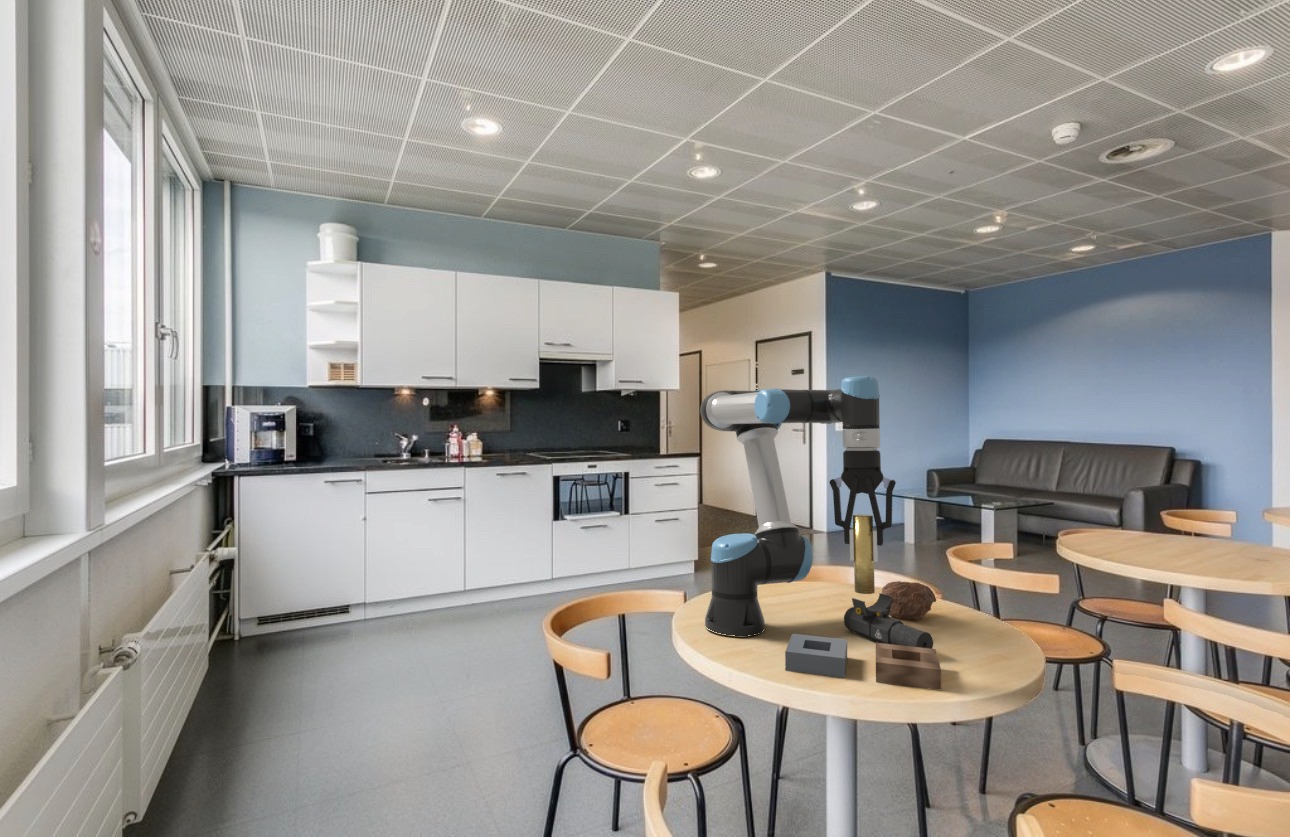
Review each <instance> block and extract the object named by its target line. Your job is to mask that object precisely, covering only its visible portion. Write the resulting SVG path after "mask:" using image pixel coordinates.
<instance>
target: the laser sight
mask: <svg viewBox="0 0 1290 837" xmlns="http://www.w3.org/2000/svg"><path fill="white" fill-rule="evenodd" d="M878 595H879V596H878V599H876V602H875V603H873V604H871V605H869V606H867V605H866V601H864V600H860V599H858V598H856V597H855V598H853V597H852V598H851V601H852V605H853V606H852V607H849V608H848V609H847V610H846V611H845V613H844V615H843V625H844V627H845V629H846V630H848V631H851V632H853V633H854V635H857V636H860V637H862V638H865V639H867V640H870V641H872V642H875V643H883V644H893V645H902V646H911V647H920V648H930V649H934V648H933V647H934V639H933V636H932V634H931V633H930V632H927V631H924V630H921V629H919V628H916V627H912V626H910V625H907V624H904V623H903V622H902V621H901V620H899V619H897V618H893V617H891V616H890V615H889V612H890V609H891V603H892V598H893V597H891V596H888V595H885V594H882V592H881V593H878Z"/></svg>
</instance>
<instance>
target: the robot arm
mask: <svg viewBox="0 0 1290 837" xmlns="http://www.w3.org/2000/svg"><path fill="white" fill-rule="evenodd" d="M840 385H841V386H840V389H839V388H838V389H788V388H787V389H785V388H784V389H782V388H768V389H762V390H758V389H756V390H729V389H726V390H718V391H713V392H711V393H709V394H708V395H706V396H705V398H704V399H703V400H702V402H701V405H700V408H699V409H700V412H699V414H700V416H701V418H702V421H703V422H704V424H705V425H706V426H708V428H709V427H710V428H711V429H713V430H716V431H720V432H735V433H736V434H735V435H736V439H737V442H739V443H740V444H742V445H743V449H744V454H745V458H746V460H745V461H746V466H747V470H748V476H749V481H750V486H751V493H752V497H753V503H754V508H755V512H756V513H755V514H756V519H757V525H758V528H757V530H756V531H755V532H754V534H752V533H746V532H745V533H743V532H742V533H732V534H727V535H722V536H720V537H718V538H716V539H715V540H714V541H713V542H712V545H711V555H710V561H711V599H710V601H709V604H708V607H707V611H706V614H705V617H704V626H706V627H707V628H708V629H710V630H712V631H714V632H717V633H721V634H726V635H735V636H747V637H749V636H748V635H754V634H757V635H759V634H758V633H760V634H762V633H763V632H764V631H765V630H764V629H766V628H765V626H766V625H765V617H764V614H763V611H762V608H761V605H760V602H759V599H758V598H759V597H758V586H760V585H763V586H764V585H770V584H772V585H773V584H782V583H784V584H785V583H786V584H790V583H793V582H799V581H802V580H804V579H806V577H807V576H809V573H810V572H811V569H812V565H813V561H814V560H813V558H814V557H813V555H814V554H813V547H812V545H811V542H810V541H809V539H808V538H807V537H806V536H803V535H800V531H799V527H798V526H797V525H795V524H794V523H792V521H791V515H790V512H789V511H790V510H789V506H788V502H787V497H786V496H787V495H786V491H785V486H784V482H783V476H782V472H781V465H780V463H779V458H778V452H777V447H776V442H775V438H776V437H777V435H778V433H779V429H780V428H781V426H782V424H822V425H823V424H825V425H826V424H827V425H830V424H836V423H837V424H838V423H842V447H843V448H844V449H845V450H843V452H842V458H843V460H842V462H843V463H842V466H843V467H842V468H843V470H842V473H841V475H840V476H839V477H836V478H832V479H830V480H829V486H830V488H831V490H832V496H833V499H832V500H833V513H834V514H833V515H834V524H835V526H836V527H837V526H839V527H842V529H843V532H844V533H843V539H844V540H843V541H844V544H845V545H849V557H850V558H849V561H851V562H854V529H853V527H851V524H852V521H853V515H854V509H855V503H856V498H857V494H866V495H868V497H869V502H870V506H871V511H872V516H873V521H874V522H875V523H874V524H875V528H873V559H874V563H878V560H879V559H878V558H879V553H878V550H879V549H878V548H879V547H878V546H880V547H881V546H883V545H884V530H885V529H888V528H891V527H892V525H893V492H894V489H895V486H896V484H897V482H896V480H895V479H890V478H888V477H885V476H884V474H883V472H882V467H881V466H882V465H881V463H882V462H881V459H882V458H881V451H880V450H878V448H880V447H881V429H880V428H881V427H880V422H881V421H880V397H881V396H880V391H879V390H880V388H879V381H878V379H877V378H876V377H873V376H851V377H850V376H849V377H845V378H843V379H842V380H841V384H840ZM842 483H844V485H846V487H847V489H848V490H849V494H848V495H849V496H848V502H847V507H846V513H845V516H844V517H845V518H844V520H843V519H842V518H843V517H842V504H841V502H842V501H841V491H840V488H841V487H842ZM881 483H883V487H884V489H885V521H882V517H881V512H880V508H879V505H878V504H879V503H878V499H877V495H876V489H877V488H878V487H879V485H881ZM763 630H764V631H763ZM762 631H763V632H762ZM761 632H762V633H761ZM754 636H755V635H754Z"/></svg>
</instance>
